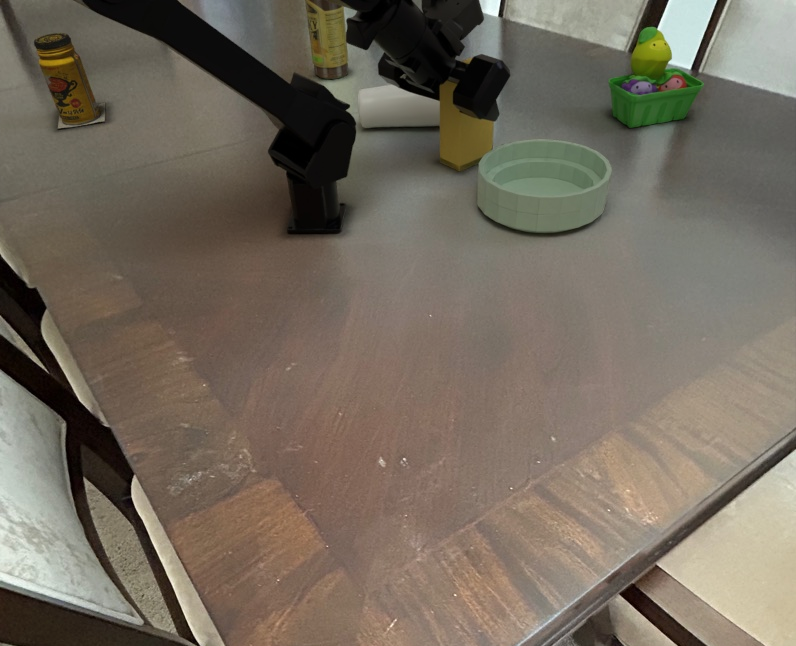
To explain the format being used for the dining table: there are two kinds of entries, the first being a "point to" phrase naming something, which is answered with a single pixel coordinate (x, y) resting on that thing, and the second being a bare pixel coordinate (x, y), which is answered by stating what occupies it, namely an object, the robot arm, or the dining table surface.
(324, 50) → the sauce bottle
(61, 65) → the condiment
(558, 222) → the bowl
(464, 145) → the sponge
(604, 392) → the dining table surface
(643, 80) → the fruit basket
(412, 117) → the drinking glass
